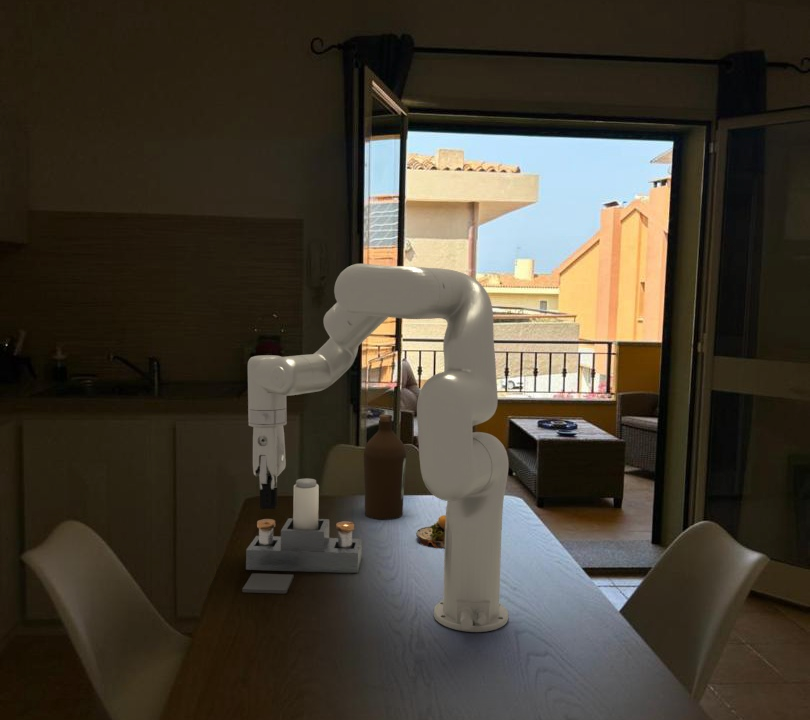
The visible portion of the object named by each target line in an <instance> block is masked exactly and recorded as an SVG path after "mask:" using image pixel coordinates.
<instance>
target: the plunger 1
mask: <svg viewBox="0 0 810 720" xmlns="http://www.w3.org/2000/svg"><path fill="white" fill-rule="evenodd" d="M256 526H257V527H256V528H258V536H259V546H273V536H274V528H275V527H276V520H275V519H272V518H264V519H259V520H257V521H256Z"/></svg>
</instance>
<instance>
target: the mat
mask: <svg viewBox="0 0 810 720" xmlns="http://www.w3.org/2000/svg"><path fill="white" fill-rule="evenodd" d="M294 575H295V574H290V573H288V574H285V573H283V574H281V573H254V572H253V573H251V575H250V576H249V578H248V580H247V581H246V583H245V584H244V585H243V587H242V588H241V590H242V591H241V593H255V594H259V593H260V594H285V595H286V594H287V593H288V590H289V589H290V586H291V585H292V583H293V579H294V577H295V576H294Z"/></svg>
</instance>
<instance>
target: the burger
mask: <svg viewBox="0 0 810 720" xmlns="http://www.w3.org/2000/svg"><path fill="white" fill-rule="evenodd" d="M445 520H446V514H444V515H440V517H438V520H437V521H436V522H435V523H434V524H432V525H430V526H424V527H422V528H419V529H418V530H417V531H416V533H415V534H416V537H417V538H419V540H420V545H422V546H426V547H429V543H431V545H432V546H433V547H434V548H435V549H440V548H441V549H445Z"/></svg>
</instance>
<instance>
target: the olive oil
mask: <svg viewBox="0 0 810 720" xmlns="http://www.w3.org/2000/svg"><path fill="white" fill-rule="evenodd" d="M392 419H393V415H392V414H387V413H386V414H384V413H383V414H379V420H378V430H377V432H376V433H374V434H373V436H372V437H371V438H370V439H369V440H368V441H367V442H366V444H365V446H364V450H363V476H364V477H363V478H364V479H363V480H364V481H363V482H364V514H365V516H367V517H368V518H370V519H374V520H375V519H376V520H393V519H398V518H400V517H402V516H403V513H404V510H403V509H404V495H405V492H404V491H405V478H406V475H405V474H406V465H407V464H406V463H407V462H406V461H407V451H406V446H405V445H404V443H403V441H402V440H401V439H400V438H399V437H398V435H397V434H396V433H395V432H394V430H393V420H392Z"/></svg>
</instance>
